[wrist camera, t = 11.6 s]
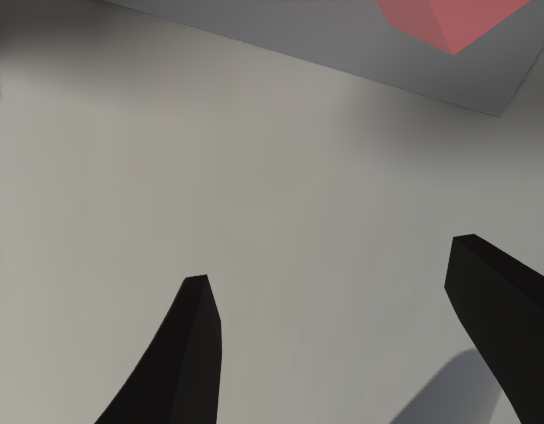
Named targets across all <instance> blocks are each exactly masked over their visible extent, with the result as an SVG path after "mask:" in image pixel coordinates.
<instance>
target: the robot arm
mask: <svg viewBox="0 0 544 424" xmlns="http://www.w3.org/2000/svg"><path fill="white" fill-rule="evenodd" d="M444 288H445V290H446V292H447V295H448V297H449V299H450V302H451V304H452V306H453V308H454V310H455V312H456V314H457V316H458V318H459V320H460V322H461V323H462V325H463V327H464V328H465V330H466V332H467V333H468V335H469V336H470V338H471V340H472V341H473V343H474V344H475V346H476V348H477V349H478V351H479V352H480V354H481V355H482V357H483V359H484V360H485V362H486V363H487V365H488V367H489V368H490V370H491V371H492V373H493V374H494V376H495V378H496V379H497V381H498V382H499V384H500V386H501V387H502V389H503V390H504V392H505V394H506V396H507V397H508V399H509V401H510V403H511V404H512V406H513V408H514V410H515V412H516V414H517V416H518V418H519V420H520V422H521V424H544V276H543V275H541V274H539V273H538V272H536V271H534V270H533V269H531V268H529V267H528V266H526V265H524V264H523V263H521V262H520V261H518V260H516V259H515V258H513V257H512V256H510V255H508V254H507V253H505V252H504V251H502V250H500V249H499V248H497V247H495V246H494V245H492V244H491V243H489V242H487V241H486V240H484V239H482V238H481V237H479V236H477V235H475V234H470V235H463V236H456V237H453V241H452V247H451V252H450V258H449V263H448V269H447V275H446V280H445V286H444ZM221 361H222V336H221V320H220V316H219V313H218V310H217V306H216V303H215V300H214V297H213V293H212V290H211V287H210V283H209V280H208V277H207V274H206V275H200V276H193V277H186V278H185V279H184V281H183V283H182V285H181V287H180V289H179V291H178V293H177V295H176V297H175V299H174V301H173V303H172V305H171V307H170V309H169V311H168V313H167V315H166V317H165V318H164V320H163V322H162V324H161V326H160V327H159V329H158V331H157V333H156V334H155V336H154V338H153V340H152V341H151V343H150V345H149V346H148V348H147V350H146V351H145V353H144V354H143V356H142V358H141V359H140V361H139V362H138V364H137V366H136V367H135V369H134V370H133V372H132V373H131V375H130V376H129V378H128V379H127V381H126V382H125V384H124V385H123V386H122V388H121V389H120V391H119V392H118V393H117V395H116V396H115V397H114V399H113V400H112V402H111V403H110V404H109V406H108V407H107V408H106V410H105V411H104V412H103V413H102V415H101V416H100V417H99V418H98V420H97V421H96V422H95V423H94V424H216V420H217V409H218V397H219V385H220V373H221Z"/></svg>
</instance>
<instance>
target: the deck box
mask: <svg viewBox="0 0 544 424" xmlns="http://www.w3.org/2000/svg"><path fill="white" fill-rule="evenodd" d="M529 1H530V0H376V2H377V3H378V5H379V7H380V9H381V11H382V13H383V15H384V16H385V18H386V20H387V22H388V24H389V25H391V26H393V27H395V28H397V29H399V30H402V31H404V32H406V33H408V34H410V35H412V36H414V37H416V38H418V39H421V40H423V41H425V42H427V43H429V44H431V45H433V46H435V47H437V48H439V49H442V50H444V51H446V52H448V53H450V54H452V55H455V54H456V53H457V52H459V51H460V50H462V49H463V48H464V47H466V46H467V45H469V44H470V43H471V42H473V41H474V40H476V39H477V38H478V37H480V36H481V35H483V34H484V33H485V32H487V31H488V30H490V29H491V28H492V27H494V26H495V25H497V24H498V23H499V22H501V21H502V20H504V19H505V18H506V17H508V16H509V15H510V14H512V13H513V12H515V11H516V10H517V9H519V8H520V7H522V6H523V5H524V4H526V3H527V2H529Z"/></svg>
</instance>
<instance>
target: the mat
mask: <svg viewBox="0 0 544 424" xmlns="http://www.w3.org/2000/svg"><path fill="white" fill-rule="evenodd" d="M104 1H107V2H111V3H114V4H117V5H121V6H124V7H128V8H131V9H134V10H138V11H141V12H144V13H148V14H151V15H154V16H158V17H161V18H165V19H168V20H171V21H175V22H178V23H181V24H185V25H188V26H191V27H195V28H198V29H202V30H205V31H208V32H212V33H215V34H218V35H222V36H225V37H229V38H232V39H235V40H239V41H242V42H245V43H249V44H252V45H255V46H259V47H262V48H266V49H269V50H272V51H276V52H279V53H282V54H286V55H289V56H293V57H296V58H299V59H303V60H306V61H309V62H313V63H316V64H319V65H323V66H326V67H330V68H333V69H336V70H340V71H343V72H346V73H350V74H353V75H356V76H360V77H363V78H367V79H370V80H373V81H377V82H380V83H383V84H387V85H390V86H394V87H397V88H400V89H404V90H407V91H410V92H414V93H417V94H420V95H424V96H427V97H431V98H434V99H437V100H441V101H444V102H447V103H451V104H454V105H458V106H461V107H464V108H468V109H471V110H474V111H478V112H481V113H484V114H488V115H491V116H495V117H498V118H499V117H500V115H501V113H502V112H503V110H504V109H505V107H506V106H507V104H508V102H509V101H510V99H511V98H512V96H513V94H514V93H515V91H516V90H517V88H518V86H519V85H520V83H521V82H522V80H523V78H524V77H525V75H526V74H527V72H528V70H529V69H530V67H531V66H532V64H533V62H534V61H535V59H536V58H537V56H538V54H539V53H540V51H541V50H542V48H543V46H544V0H530V1H529V2H527V3H526V4H524V5H523V6H522V7H520V8H519V9H517V10H516V11H515V12H513V13H512V14H510V15H509V16H508V17H506V18H505V19H504V20H502V21H501V22H499V23H498V24H497V25H495V26H494V27H492V28H491V29H490V30H488V31H487V32H485V33H484V34H483V35H481V36H480V37H478V38H477V39H476V40H474V41H473V42H471V43H470V44H469V45H467V46H466V47H464V48H463V49H462V50H460V51H459V52H457V53H456V54H455V55H452V54H450V53H448V52H446V51H444V50H442V49H439V48H437V47H435V46H433V45H431V44H429V43H427V42H425V41H423V40H421V39H418V38H416V37H414V36H412V35H410V34H408V33H406V32H404V31H402V30H399V29H397V28H395V27H393V26H391V25H389V24H388V22H387V20H386V18H385V16H384V15H383V13H382V11H381V9H380V7H379V5H378V3H377V2H376V0H104Z"/></svg>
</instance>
